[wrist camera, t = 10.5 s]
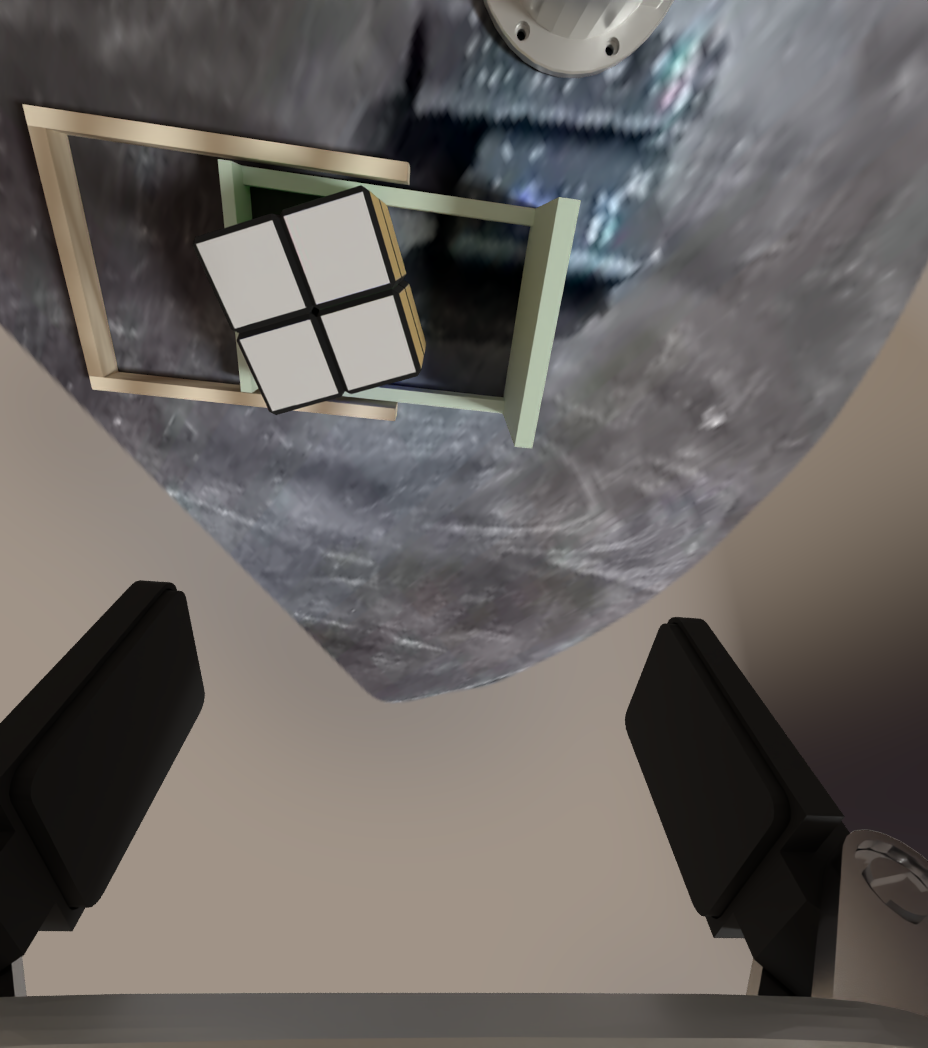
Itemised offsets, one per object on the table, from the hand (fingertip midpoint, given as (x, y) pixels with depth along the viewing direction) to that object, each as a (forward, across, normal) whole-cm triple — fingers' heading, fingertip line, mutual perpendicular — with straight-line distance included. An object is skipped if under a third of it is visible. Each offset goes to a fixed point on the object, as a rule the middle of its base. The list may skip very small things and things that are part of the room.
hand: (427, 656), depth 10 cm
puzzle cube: (+33, +8, -4) cm, 34 cm away
